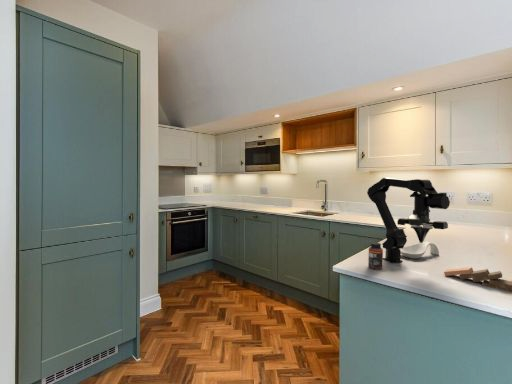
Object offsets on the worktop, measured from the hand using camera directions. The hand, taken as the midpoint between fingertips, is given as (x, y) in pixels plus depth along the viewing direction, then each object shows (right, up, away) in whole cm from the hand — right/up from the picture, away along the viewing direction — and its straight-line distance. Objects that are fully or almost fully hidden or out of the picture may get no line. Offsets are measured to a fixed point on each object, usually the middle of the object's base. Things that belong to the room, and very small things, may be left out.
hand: (421, 242), depth 125 cm
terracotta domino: (+8, -12, -5) cm, 15 cm away
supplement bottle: (-20, -12, +2) cm, 23 cm away
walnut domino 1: (+11, -12, -10) cm, 19 cm away
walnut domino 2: (+13, -12, -13) cm, 22 cm away
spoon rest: (+12, -12, +23) cm, 29 cm away
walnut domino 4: (+17, -12, -17) cm, 26 cm away
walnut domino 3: (+15, -13, -15) cm, 25 cm away
